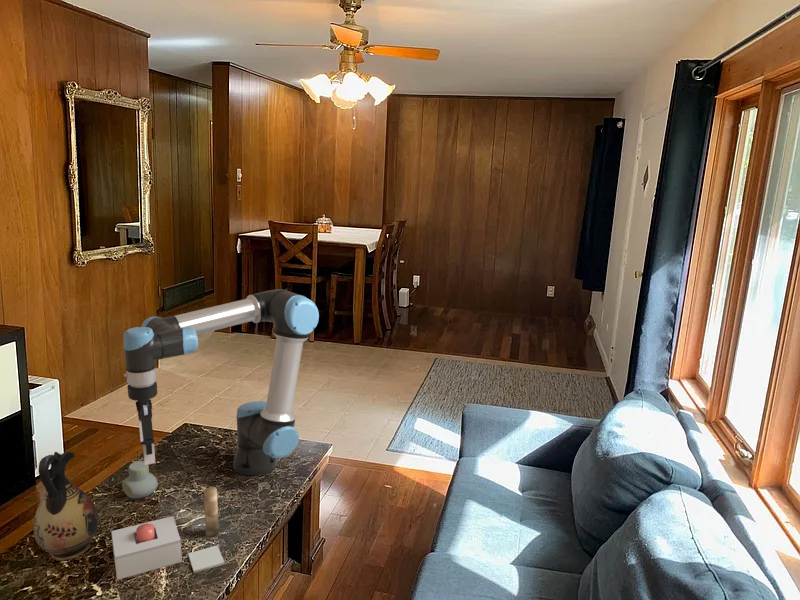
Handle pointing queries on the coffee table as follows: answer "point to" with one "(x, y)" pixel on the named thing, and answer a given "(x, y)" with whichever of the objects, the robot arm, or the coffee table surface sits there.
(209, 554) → the pad
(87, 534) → the ceramic jug
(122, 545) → the box
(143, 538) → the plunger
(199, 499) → the coffee table surface
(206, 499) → the tan wooden rod
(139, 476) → the air freshener
